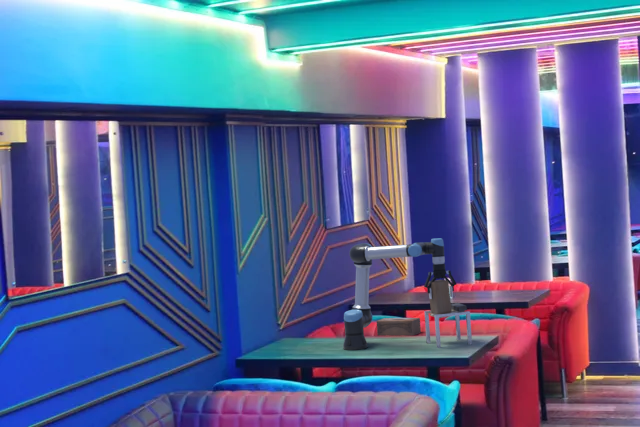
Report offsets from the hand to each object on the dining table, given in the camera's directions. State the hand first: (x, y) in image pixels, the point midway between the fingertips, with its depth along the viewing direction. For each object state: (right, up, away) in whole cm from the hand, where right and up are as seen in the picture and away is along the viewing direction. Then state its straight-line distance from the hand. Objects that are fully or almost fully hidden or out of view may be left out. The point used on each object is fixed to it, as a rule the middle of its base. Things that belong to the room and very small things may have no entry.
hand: (441, 297), depth 589 cm
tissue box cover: (-21, -30, +56) cm, 67 cm away
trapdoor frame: (+5, -28, +1) cm, 29 cm away
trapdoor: (+5, -10, +1) cm, 11 cm away
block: (0, -10, 0) cm, 10 cm away
